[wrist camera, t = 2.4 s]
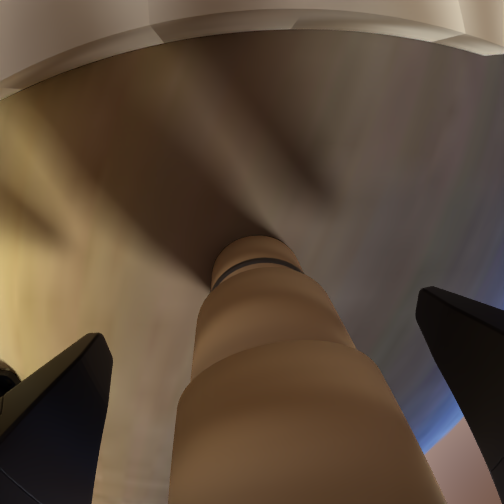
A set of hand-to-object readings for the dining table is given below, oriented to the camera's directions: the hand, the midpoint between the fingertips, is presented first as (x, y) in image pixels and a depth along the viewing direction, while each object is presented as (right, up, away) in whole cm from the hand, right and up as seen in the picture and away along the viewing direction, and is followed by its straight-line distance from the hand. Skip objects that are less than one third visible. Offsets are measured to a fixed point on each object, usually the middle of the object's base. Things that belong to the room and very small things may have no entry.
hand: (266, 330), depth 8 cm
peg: (0, +1, +3) cm, 3 cm away
